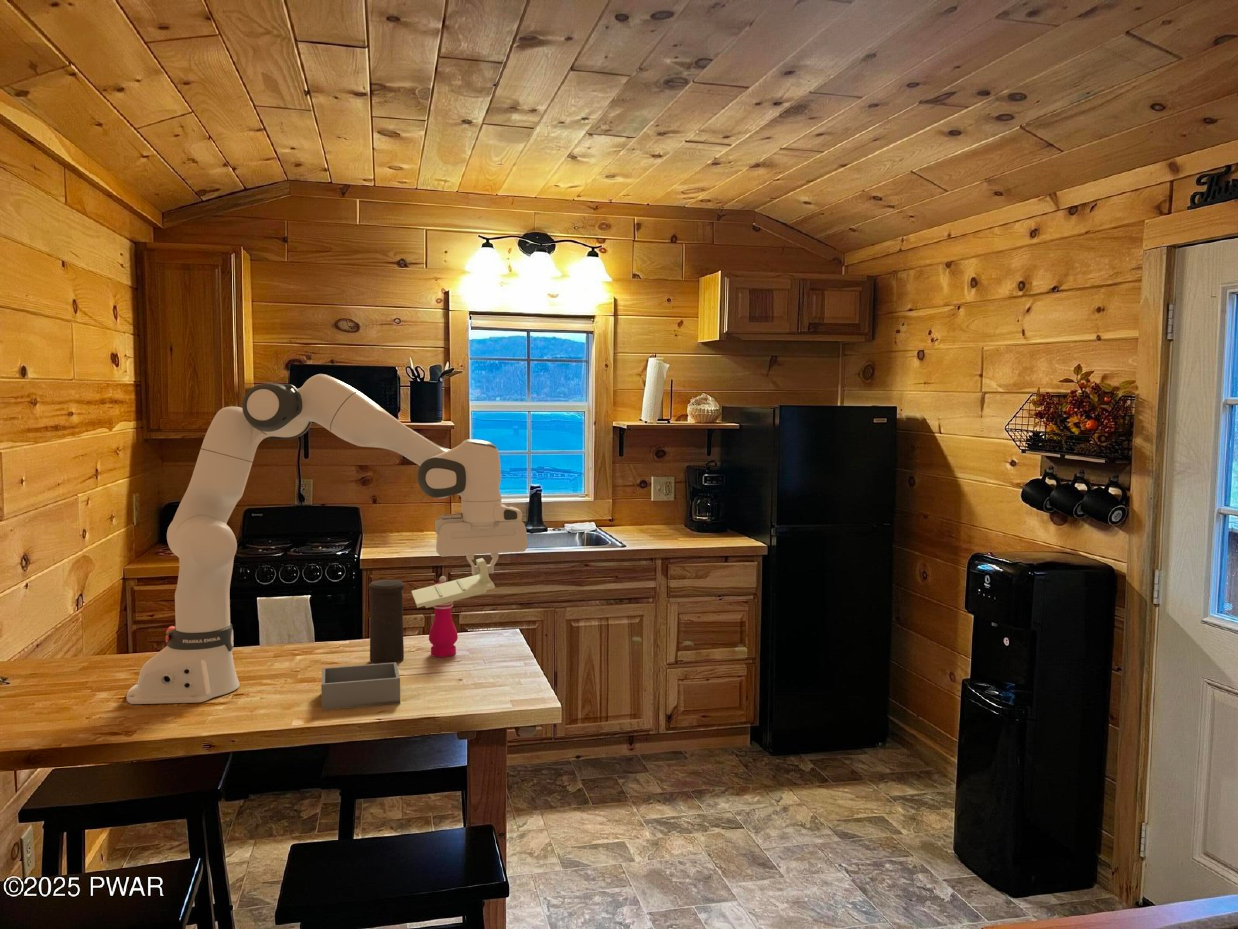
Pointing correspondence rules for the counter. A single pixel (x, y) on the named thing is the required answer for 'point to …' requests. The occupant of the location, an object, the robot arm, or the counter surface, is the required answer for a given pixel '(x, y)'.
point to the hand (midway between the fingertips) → (482, 573)
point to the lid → (455, 588)
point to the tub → (360, 686)
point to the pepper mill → (443, 630)
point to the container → (386, 621)
